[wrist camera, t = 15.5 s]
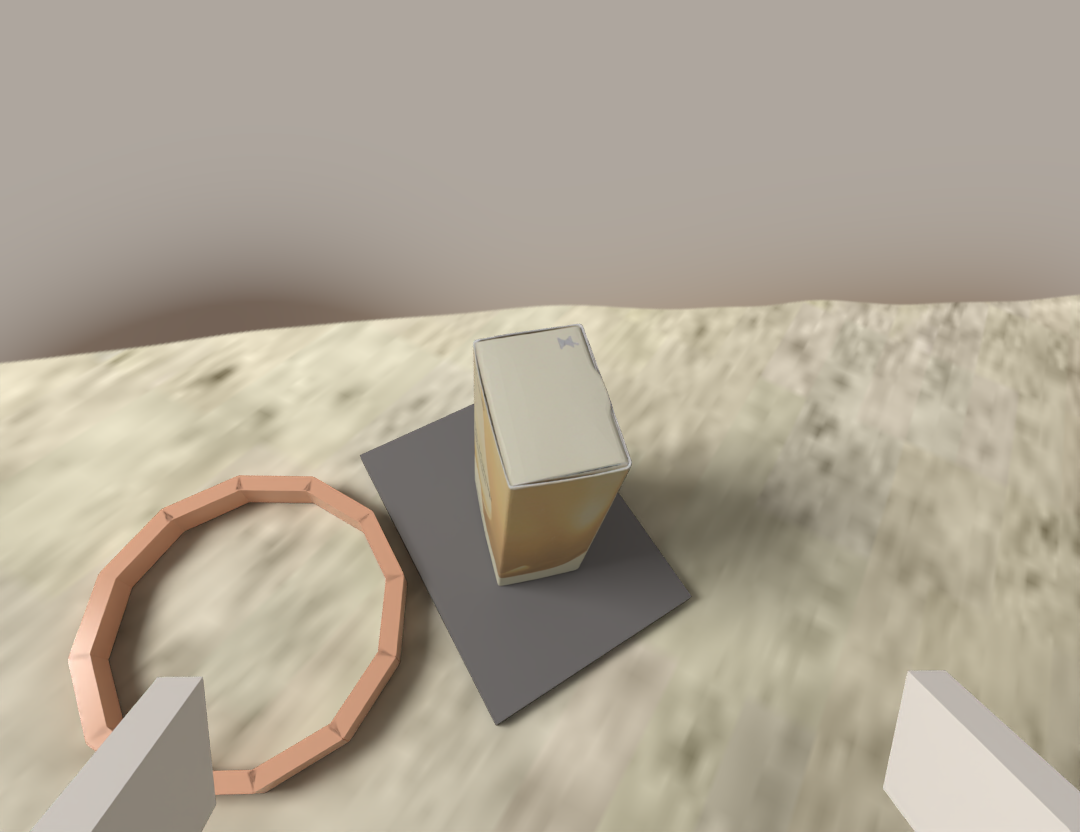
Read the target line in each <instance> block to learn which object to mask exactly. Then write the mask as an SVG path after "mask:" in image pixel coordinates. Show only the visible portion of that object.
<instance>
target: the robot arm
mask: <svg viewBox="0 0 1080 832" xmlns="http://www.w3.org/2000/svg"><path fill="white" fill-rule="evenodd" d="M883 789H884V791H885V792H886V793H887V795H888V796H889V797H890V799H891V800H892V801H893V803H894V804H895V805H896V807H897V808H898V809H899V811H900V812H901V814H902V815H903V816H904V818H905V819H906V820H907V822H908V823H909V824H910V826H911V827H912V828H913V830H914V831H915V832H1080V791H1079V790H1078V789H1076V788H1075V787H1074V786H1073V785H1072V784H1071V783H1070V782H1069V781H1068V780H1066V779H1065V778H1064V777H1063V776H1062V775H1061V774H1060V773H1059V772H1058V771H1056V770H1055V769H1054V768H1053V767H1052V766H1051V765H1050V764H1049V763H1048V762H1046V761H1045V760H1044V759H1043V758H1042V757H1041V756H1040V755H1039V754H1038V753H1036V752H1035V751H1034V750H1033V749H1032V748H1031V747H1030V746H1029V745H1028V744H1026V743H1025V742H1024V741H1023V740H1022V739H1021V738H1020V737H1019V736H1018V735H1016V734H1015V733H1014V732H1013V731H1012V730H1011V729H1010V728H1009V727H1008V726H1006V725H1005V724H1004V723H1003V722H1002V721H1001V720H1000V719H999V718H998V717H996V716H995V715H994V714H993V713H992V712H991V711H990V710H989V709H988V708H986V707H985V706H984V705H983V704H982V703H981V702H980V701H979V700H978V699H976V698H975V697H974V696H973V695H972V694H971V693H970V692H969V691H968V690H966V689H965V688H964V687H963V686H962V685H961V684H960V683H959V682H958V681H956V680H955V679H954V678H953V677H952V676H951V675H950V674H949V673H948V672H946V671H945V670H929V671H908V672H907V677H906V681H905V686H904V691H903V696H902V700H901V705H900V710H899V714H898V719H897V724H896V729H895V733H894V738H893V743H892V748H891V752H890V757H889V762H888V766H887V771H886V776H885V781H884V785H883ZM215 806H216V798H215V788H214V779H213V769H212V760H211V750H210V740H209V731H208V721H207V712H206V702H205V692H204V683H203V677H157V678H156V680H155V681H154V682H153V683H152V685H151V686H150V687H149V688H148V689H147V691H146V692H145V693H144V694H143V695H142V697H141V698H140V699H139V700H138V701H137V703H136V704H135V705H134V706H133V707H132V709H131V710H130V711H129V712H128V713H127V715H126V716H125V717H124V718H123V719H122V721H121V722H120V723H119V724H118V725H117V727H116V728H115V729H114V730H113V732H112V733H111V734H110V735H109V736H108V738H107V739H106V740H105V741H104V742H103V744H102V745H101V746H100V747H99V748H98V750H97V751H96V752H95V753H94V754H93V756H92V757H91V758H90V759H89V760H88V762H87V763H86V764H85V765H84V766H83V768H82V769H81V770H80V771H79V772H78V774H77V775H76V776H75V777H74V778H73V780H72V781H71V782H70V783H69V785H68V786H67V787H66V788H65V789H64V791H63V792H62V793H61V794H60V795H59V797H58V798H57V799H56V800H55V801H54V803H53V804H52V805H51V806H50V807H49V809H48V810H47V811H46V812H45V813H44V815H43V816H42V817H41V818H40V819H39V821H38V822H37V823H36V824H35V825H34V827H33V828H32V829H31V830H30V832H202V830H203V828H204V827H205V825H206V823H207V821H208V819H209V817H210V815H211V813H212V811H213V809H214V807H215Z"/></svg>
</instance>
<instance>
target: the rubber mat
mask: <svg viewBox="0 0 1080 832" xmlns="http://www.w3.org/2000/svg"><path fill="white" fill-rule="evenodd" d="M360 457H361V460H362V462H363V464H364V466H365V468H366V470H367V472H368V474H369V476H370V478H371V480H372V481H373V483H374V485H375V487H376V489H377V491H378V493H379V495H380V497H381V499H382V501H383V503H384V505H385V507H386V509H387V511H388V513H389V515H390V517H391V519H392V521H393V523H394V525H395V527H396V529H397V531H398V533H399V535H400V537H401V539H402V541H403V543H404V545H405V547H406V549H407V551H408V553H409V555H410V557H411V559H412V561H413V563H414V565H415V566H416V568H417V570H418V572H419V574H420V576H421V578H422V580H423V582H424V584H425V586H426V588H427V590H428V592H429V594H430V596H431V598H432V600H433V602H434V604H435V606H436V608H437V610H438V612H439V614H440V616H441V618H442V620H443V622H444V624H445V626H446V628H447V630H448V632H449V634H450V636H451V638H452V640H453V642H454V644H455V646H456V648H457V650H458V651H459V653H460V655H461V657H462V659H463V661H464V663H465V665H466V667H467V669H468V671H469V673H470V675H471V677H472V679H473V681H474V683H475V685H476V687H477V689H478V691H479V693H480V695H481V697H482V699H483V701H484V703H485V705H486V707H487V709H488V711H489V713H490V715H491V717H492V719H493V721H494V723H495V725H498V724H499V723H501V722H502V721H504V720H506V719H507V718H509V717H510V716H512V715H513V714H515V713H516V712H518V711H519V710H521V709H522V708H524V707H525V706H527V705H528V704H530V703H531V702H533V701H534V700H536V699H538V698H539V697H541V696H542V695H544V694H545V693H547V692H548V691H550V690H551V689H553V688H554V687H556V686H557V685H559V684H560V683H562V682H563V681H565V680H566V679H568V678H570V677H571V676H573V675H574V674H576V673H577V672H579V671H580V670H582V669H583V668H585V667H586V666H588V665H589V664H591V663H592V662H594V661H595V660H597V659H598V658H600V657H602V656H603V655H605V654H606V653H608V652H609V651H611V650H612V649H614V648H615V647H617V646H618V645H620V644H621V643H623V642H624V641H626V640H627V639H629V638H630V637H632V636H634V635H635V634H637V633H638V632H640V631H641V630H643V629H644V628H646V627H647V626H649V625H650V624H652V623H653V622H655V621H656V620H658V619H659V618H661V617H663V616H664V615H666V614H667V613H669V612H670V611H672V610H673V609H675V608H676V607H678V606H679V605H681V604H682V603H684V602H685V601H687V600H688V599H689V598H691V597H692V596H691V595H690V593H689V592H688V591H687V589H686V588H685V586H684V585H683V584H682V582H681V581H680V579H679V578H678V577H677V575H676V574H675V572H674V571H673V569H672V568H671V567H670V565H669V564H668V562H667V561H666V560H665V558H664V557H663V555H662V554H661V552H660V551H659V550H658V548H657V547H656V545H655V544H654V543H653V541H652V540H651V538H650V537H649V536H648V534H647V533H646V531H645V530H644V528H643V527H642V526H641V524H640V523H639V521H638V520H637V519H636V517H635V516H634V514H633V513H632V511H631V510H630V509H629V507H628V506H627V504H626V503H625V502H624V500H623V499H622V497H621V496H620V495H619V493H617V495H616V497H615V499H614V501H613V503H612V505H611V507H610V509H609V511H608V512H607V514H606V516H605V518H604V520H603V522H602V524H601V526H600V528H599V530H598V532H597V534H596V535H595V537H594V539H593V541H592V543H591V545H590V547H589V549H588V551H587V553H586V555H585V557H584V559H583V561H582V562H581V564H580V566H579V568H578V569H576V570H573V571H569V572H565V573H561V574H557V575H552V576H548V577H543V578H539V579H534V580H529V581H524V582H519V583H514V584H509V585H504V586H499V585H498V583H497V580H496V576H495V572H494V568H493V564H492V560H491V556H490V552H489V548H488V544H487V540H486V536H485V531H484V526H483V521H482V516H481V511H480V506H479V501H478V495H477V489H476V483H475V432H474V404H472V405H470V406H468V407H466V408H463V409H461V410H459V411H457V412H455V413H452V414H450V415H448V416H446V417H444V418H441V419H439V420H437V421H435V422H432V423H430V424H428V425H426V426H424V427H421V428H419V429H417V430H415V431H413V432H410V433H408V434H406V435H404V436H401V437H399V438H397V439H395V440H393V441H390V442H388V443H386V444H384V445H382V446H379V447H377V448H375V449H373V450H370V451H368V452H366V453H364V454H362V455H360Z"/></svg>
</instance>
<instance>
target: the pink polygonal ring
mask: <svg viewBox="0 0 1080 832" xmlns="http://www.w3.org/2000/svg"><path fill="white" fill-rule="evenodd" d="M249 502H280V503H315V504H316V505H318V506H320V507H321V508H323V509H325V510H326V511H328V512H330V513H331V514H333V515H335V516H336V517H338V518H340V519H342V520H343V521H345V522H347V523H348V524H350V525H352V526H353V527H355V528H357V529H358V530H360V531H362V532H363V533H364V534H365V536H366V538H367V540H368V542H369V544H370V546H371V548H372V550H373V553H374V555H375V557H376V559H377V561H378V563H379V565H380V567H381V569H382V571H383V573H384V576H385V578H386V584H385V593H384V602H383V611H382V620H381V629H380V638H379V647H378V653H377V654H376V656H375V657H374V659H373V660H372V662H371V663H370V665H369V666H368V668H367V669H366V671H365V672H364V674H363V675H362V677H361V678H360V680H359V681H358V683H357V684H356V686H355V687H354V689H353V690H352V692H351V693H350V695H349V696H348V698H347V699H346V701H345V702H344V704H343V705H342V707H341V708H340V710H339V711H338V713H337V714H336V716H335V717H334V719H333V720H332V722H331V723H330V724H328V725H327V726H325V727H323V728H322V729H320V730H318V731H317V732H315V733H313V734H312V735H310V736H308V737H307V738H305V739H303V740H302V741H300V742H298V743H297V744H295V745H293V746H291V747H290V748H288V749H286V750H285V751H283V752H281V753H280V754H278V755H276V756H275V757H273V758H271V759H270V760H268V761H266V762H265V763H263V764H261V765H259V766H258V767H256V768H254V769H253V770H227V771H213V779H214V788H215V795H218V794H255V793H266V792H267V791H269V790H271V789H272V788H274V787H276V786H277V785H279V784H281V783H282V782H284V781H286V780H287V779H289V778H290V777H292V776H294V775H295V774H297V773H299V772H300V771H302V770H304V769H305V768H307V767H308V766H310V765H312V764H313V763H315V762H317V761H318V760H320V759H322V758H323V757H325V756H326V755H328V754H330V753H331V752H333V751H335V750H336V749H338V748H340V747H341V746H343V745H344V744H346V743H348V742H349V741H350V740H351V739H352V737H353V735H354V734H355V732H356V731H357V729H358V728H359V726H360V724H361V723H362V721H363V720H364V718H365V717H366V715H367V714H368V712H369V710H370V709H371V707H372V706H373V704H374V703H375V701H376V699H377V698H378V696H379V695H380V693H381V692H382V690H383V688H384V687H385V685H386V684H387V682H388V681H389V679H390V678H391V676H392V674H393V673H394V671H395V670H396V668H397V667H398V665H399V662H400V658H401V647H402V636H403V625H404V615H405V604H406V593H407V581H406V579H405V576H404V574H403V572H402V569H401V567H400V565H399V563H398V561H397V559H396V557H395V555H394V553H393V551H392V549H391V547H390V545H389V543H388V541H387V539H386V537H385V535H384V533H383V531H382V529H381V527H380V525H379V523H378V521H377V519H376V517H375V515H374V513H373V511H372V510H370V509H368V508H367V507H365V506H363V505H361V504H360V503H358V502H356V501H355V500H353V499H351V498H349V497H348V496H346V495H344V494H343V493H341V492H339V491H337V490H336V489H334V488H332V487H331V486H329V485H327V484H325V483H324V482H322V481H320V480H319V479H317V478H315V477H312V476H244V475H239V476H236V477H234V478H232V479H229V480H227V481H225V482H222V483H220V484H218V485H216V486H213V487H211V488H209V489H206V490H204V491H202V492H199V493H197V494H195V495H192V496H190V497H188V498H186V499H183V500H181V501H179V502H176V503H174V504H172V505H169V506H167V507H165V508H163V510H162V509H161V510H160V511H159V512H158V513H157V514H156V515H155V516H154V517H153V518H152V519H151V520H150V521H149V522H148V524H147V525H146V526H145V527H144V528H143V529H142V530H141V531H140V532H139V533H138V534H137V535H136V536H135V537H134V538H133V539H132V540H131V541H130V542H129V543H128V544H127V545H126V546H125V547H124V548H123V549H122V550H121V551H120V552H119V553H118V554H117V555H116V556H115V557H114V558H113V559H112V560H111V561H110V562H109V564H108V565H107V566H106V567H105V568H104V569H103V570H102V571H101V572H100V573H99V574H98V577H97V580H96V582H95V585H94V588H93V591H92V593H91V596H90V599H89V602H88V605H87V607H86V610H85V613H84V616H83V618H82V621H81V624H80V627H79V630H78V632H77V635H76V638H75V641H74V643H73V646H72V649H71V652H70V655H69V657H68V659H69V660H68V663H69V668H70V672H71V677H72V681H73V686H74V691H75V695H76V700H77V705H78V709H79V714H80V719H81V723H82V728H83V733H84V737H85V742H86V743H87V745H88V746H89V747H91V748H92V749H93V750H95V751H97V750H98V748H99V747H100V746H101V745H102V744H103V742H104V741H105V740H106V739H107V738H108V736H109V735H110V734H111V733H112V732H113V730H114V729H115V728H116V727H117V725H118V724H119V723H120V722H121V721H122V719H123V717H122V713H121V709H120V705H119V701H118V697H117V693H116V689H115V685H114V681H113V677H112V673H111V668H110V664H109V657H110V654H111V651H112V648H113V644H114V641H115V638H116V635H117V632H118V629H119V626H120V623H121V620H122V617H123V614H124V611H125V608H126V605H127V602H128V599H129V596H130V593H131V589H132V587H133V586H134V585H135V584H136V583H137V582H138V581H139V580H140V579H141V577H142V576H143V575H144V574H145V573H146V572H147V571H148V570H149V569H150V568H151V567H152V566H153V565H154V564H155V562H156V561H157V560H158V559H159V558H160V557H161V556H162V555H163V554H164V553H165V552H166V551H167V550H168V548H169V547H170V546H171V545H172V544H173V543H174V542H175V541H176V540H177V539H178V538H179V537H180V536H181V535H182V533H183V532H184V531H187V530H189V529H191V528H193V527H195V526H198V525H200V524H202V523H204V522H207V521H209V520H211V519H213V518H215V517H218V516H220V515H222V514H224V513H227V512H229V511H231V510H233V509H235V508H238V507H240V506H242V505H244V504H247V503H249Z"/></svg>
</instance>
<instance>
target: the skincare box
mask: <svg viewBox="0 0 1080 832" xmlns="http://www.w3.org/2000/svg"><path fill="white" fill-rule="evenodd" d="M473 354H474V432H475V483H476V489H477V495H478V501H479V506H480V511H481V516H482V521H483V526H484V531H485V536H486V540H487V544H488V548H489V552H490V556H491V560H492V564H493V568H494V572H495V576H496V580H497V583H498V585H499V586H504V585H509V584H514V583H519V582H524V581H529V580H534V579H539V578H543V577H548V576H552V575H557V574H561V573H565V572H569V571H573V570H576V569H578V568H579V566H580V564H581V562H582V561H583V559H584V557H585V555H586V553H587V551H588V549H589V547H590V545H591V543H592V541H593V539H594V537H595V535H596V534H597V532H598V530H599V528H600V526H601V524H602V522H603V520H604V518H605V516H606V514H607V512H608V511H609V509H610V507H611V505H612V503H613V501H614V499H615V497H616V495H617V493H618V491H619V489H620V487H621V485H622V483H623V481H624V479H625V478H626V476H627V474H628V472H629V470H630V468H631V465H632V461H631V458H630V456H629V453H628V450H627V447H626V444H625V441H624V438H623V435H622V433H621V430H620V427H619V424H618V421H617V419H616V416H615V413H614V410H613V407H612V404H611V401H610V398H609V395H608V392H607V389H606V387H605V384H604V382H603V379H602V377H601V374H600V372H599V369H598V366H597V363H596V360H595V358H594V355H593V353H592V350H591V347H590V344H589V341H588V339H587V336H586V333H585V330H584V327H583V326H582V325H581V324H573V325H567V326H560V327H553V328H545V329H538V330H531V331H524V332H517V333H511V334H504V335H498V336H494V337H489V338H483V339H477V340H475V341H474V342H473Z"/></svg>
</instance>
